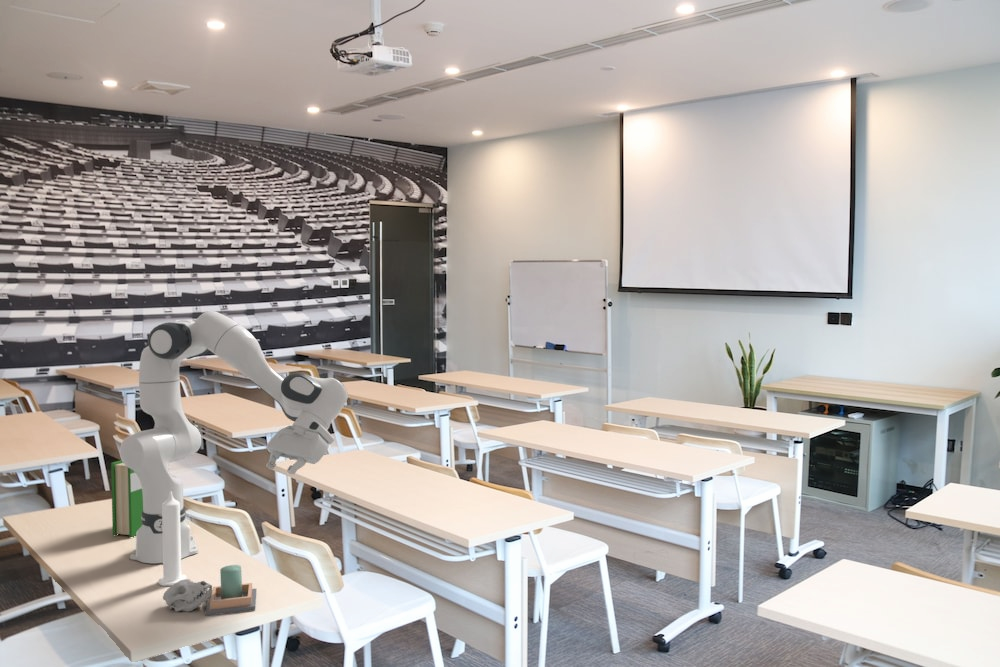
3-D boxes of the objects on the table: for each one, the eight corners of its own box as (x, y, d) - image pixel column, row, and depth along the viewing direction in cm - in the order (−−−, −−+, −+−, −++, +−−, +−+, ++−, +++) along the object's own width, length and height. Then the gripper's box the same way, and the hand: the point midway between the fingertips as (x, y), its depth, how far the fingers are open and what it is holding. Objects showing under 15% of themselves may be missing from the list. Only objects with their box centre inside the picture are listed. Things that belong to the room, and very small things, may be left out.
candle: (176, 587, 200) (174, 495, 199) (152, 585, 202) (150, 494, 200) (191, 577, 207) (190, 488, 206) (169, 575, 209) (167, 487, 207)
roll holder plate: (209, 597, 194) (209, 585, 194) (256, 592, 197) (256, 581, 197) (205, 615, 183) (205, 603, 183) (255, 610, 186) (255, 598, 186)
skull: (172, 589, 193) (203, 560, 191) (192, 617, 191) (223, 588, 189) (151, 599, 185) (183, 569, 183) (172, 628, 184) (204, 598, 182)
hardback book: (131, 538, 240) (130, 464, 239) (112, 536, 242) (111, 463, 241) (169, 521, 257) (168, 453, 256) (151, 520, 259) (149, 451, 258)
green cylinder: (222, 596, 192) (221, 566, 191) (242, 594, 193) (241, 564, 193) (220, 604, 187) (219, 573, 187) (241, 602, 188) (240, 571, 188)
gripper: (279, 418, 213) (249, 458, 206) (325, 426, 200) (295, 469, 193) (292, 431, 216) (264, 471, 209) (338, 440, 204) (309, 482, 197)
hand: (279, 470), depth 201 cm, fingers open, 8 cm apart
